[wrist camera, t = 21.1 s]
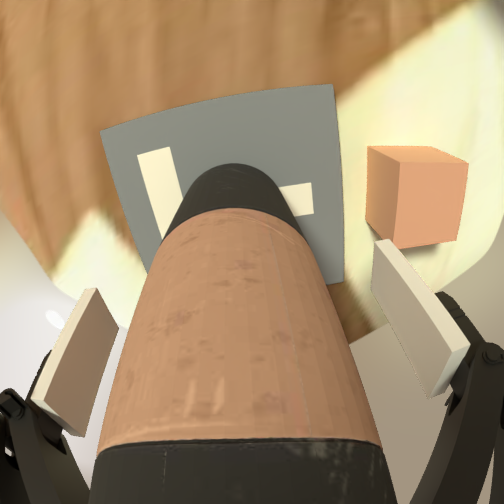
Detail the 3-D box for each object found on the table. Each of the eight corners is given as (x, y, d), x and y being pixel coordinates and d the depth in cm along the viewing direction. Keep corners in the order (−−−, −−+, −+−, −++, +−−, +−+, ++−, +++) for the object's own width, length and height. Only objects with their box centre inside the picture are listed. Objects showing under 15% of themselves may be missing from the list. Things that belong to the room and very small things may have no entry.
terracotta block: (430, 146, 20) (468, 163, 15) (423, 213, 23) (456, 240, 18) (366, 145, 20) (399, 162, 15) (364, 219, 23) (391, 250, 18)
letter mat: (330, 84, 17) (332, 84, 17) (341, 277, 25) (343, 281, 25) (102, 130, 18) (99, 131, 17) (164, 306, 26) (163, 310, 25)
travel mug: (309, 207, 21) (445, 513, 4) (238, 274, 24) (252, 557, 7) (229, 135, 18) (208, 592, 1) (159, 216, 21) (53, 527, 4)
